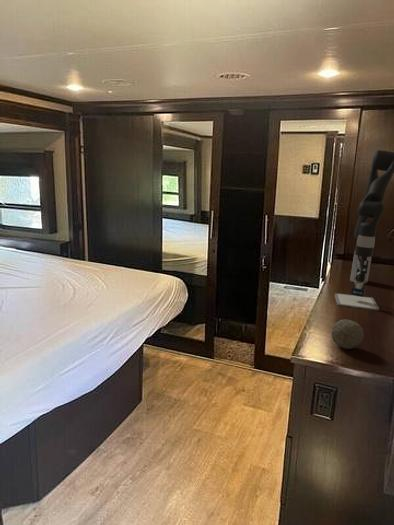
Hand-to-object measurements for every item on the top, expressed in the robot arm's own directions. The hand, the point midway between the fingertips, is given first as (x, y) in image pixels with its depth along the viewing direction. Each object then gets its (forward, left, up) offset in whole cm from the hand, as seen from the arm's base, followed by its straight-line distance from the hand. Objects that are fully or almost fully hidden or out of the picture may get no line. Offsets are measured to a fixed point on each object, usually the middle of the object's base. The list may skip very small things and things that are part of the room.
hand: (359, 279), depth 185 cm
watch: (0, 0, -8) cm, 8 cm away
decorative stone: (+56, -11, -11) cm, 58 cm away
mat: (0, 0, -11) cm, 11 cm away
